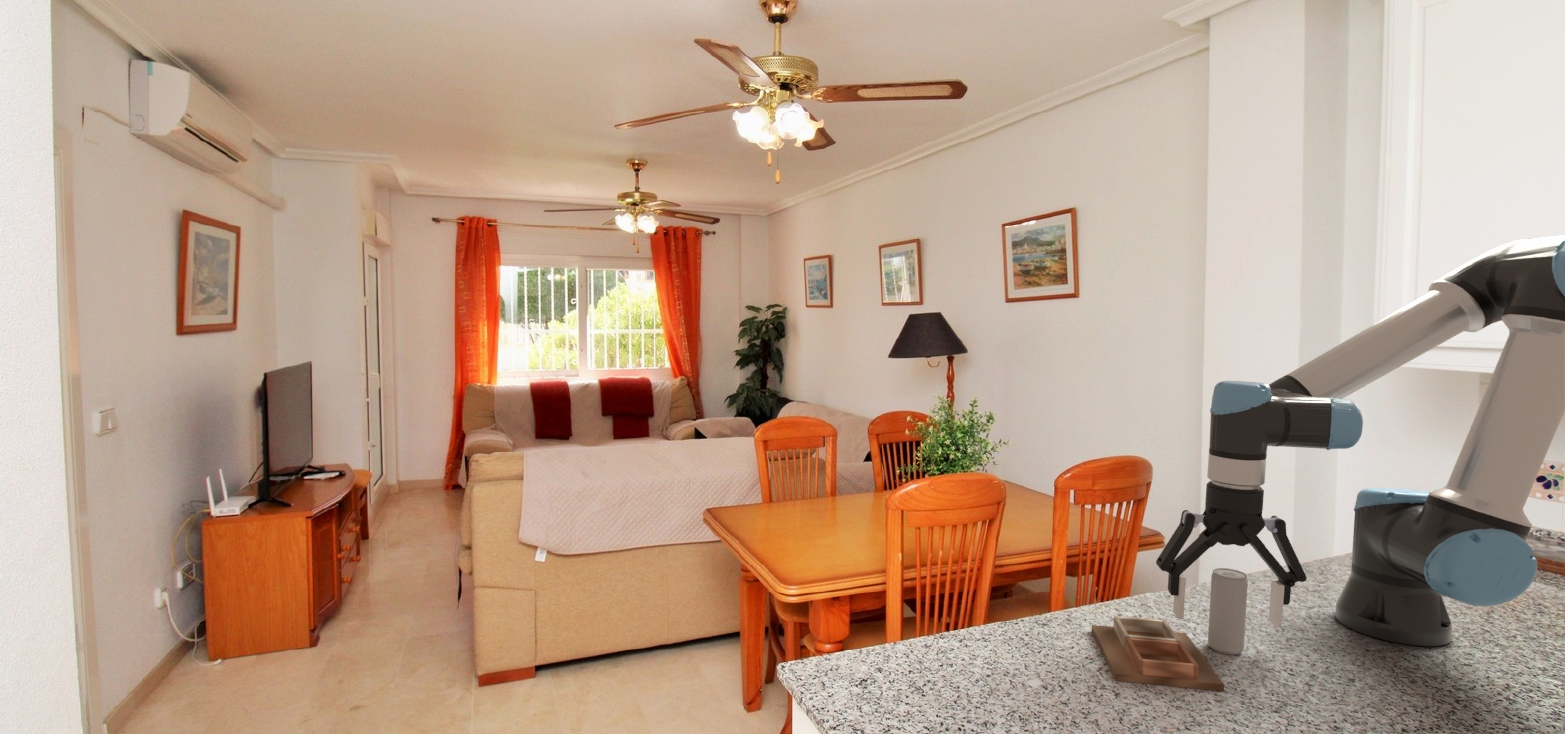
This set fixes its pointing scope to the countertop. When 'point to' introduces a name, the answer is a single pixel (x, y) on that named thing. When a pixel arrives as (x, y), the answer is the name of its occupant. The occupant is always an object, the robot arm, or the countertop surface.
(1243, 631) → the beverage can
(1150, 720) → the countertop surface
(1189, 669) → the socket board
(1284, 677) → the countertop surface
